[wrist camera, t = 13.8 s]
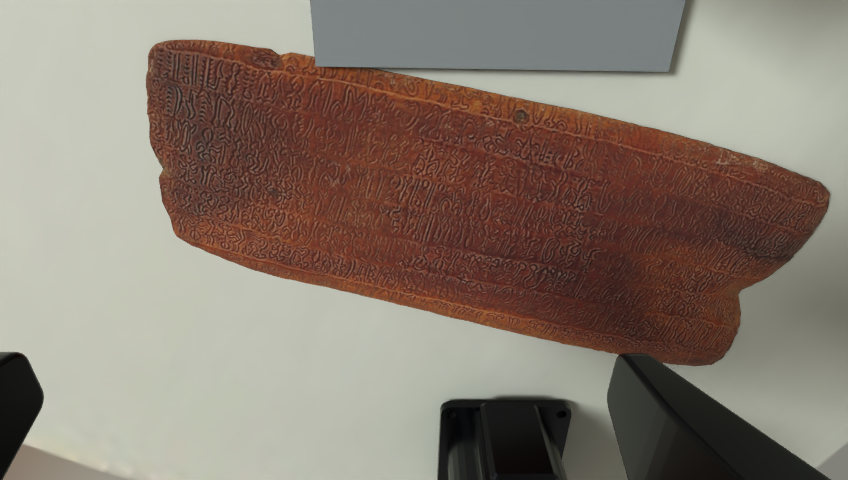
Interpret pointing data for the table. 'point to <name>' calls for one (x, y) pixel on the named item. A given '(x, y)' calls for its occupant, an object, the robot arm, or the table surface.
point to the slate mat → (497, 34)
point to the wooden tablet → (469, 200)
